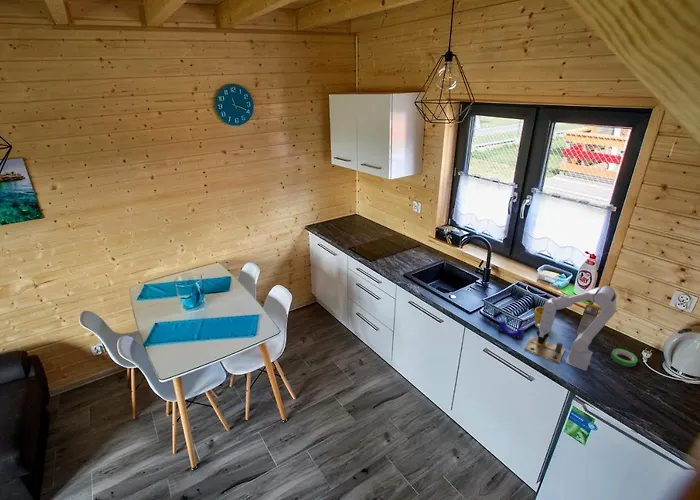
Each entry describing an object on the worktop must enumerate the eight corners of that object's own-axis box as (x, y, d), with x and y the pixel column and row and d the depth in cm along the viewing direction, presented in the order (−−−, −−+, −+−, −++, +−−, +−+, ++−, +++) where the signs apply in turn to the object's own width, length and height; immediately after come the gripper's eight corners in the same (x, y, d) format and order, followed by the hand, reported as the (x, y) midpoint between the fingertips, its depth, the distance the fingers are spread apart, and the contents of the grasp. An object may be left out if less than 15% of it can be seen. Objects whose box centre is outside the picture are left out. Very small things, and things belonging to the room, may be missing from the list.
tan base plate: (564, 350, 209) (567, 340, 207) (558, 363, 200) (561, 354, 197) (531, 337, 219) (533, 328, 216) (524, 349, 209) (526, 340, 207)
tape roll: (633, 355, 206) (635, 351, 205) (638, 369, 197) (640, 365, 196) (609, 350, 210) (610, 346, 209) (612, 363, 201) (614, 359, 200)
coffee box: (579, 327, 227) (586, 304, 220) (592, 332, 223) (599, 308, 217) (575, 335, 221) (583, 311, 214) (588, 340, 217) (596, 315, 210)
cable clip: (522, 335, 221) (524, 326, 218) (519, 339, 218) (521, 330, 215) (501, 326, 228) (503, 318, 225) (498, 330, 225) (500, 321, 222)
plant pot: (552, 324, 230) (556, 310, 226) (549, 333, 222) (553, 319, 218) (533, 318, 235) (536, 304, 231) (529, 327, 227) (533, 312, 223)
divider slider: (545, 344, 211) (548, 335, 209) (541, 352, 205) (544, 343, 203) (537, 341, 214) (540, 332, 211) (533, 349, 208) (535, 339, 205)
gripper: (542, 311, 212) (537, 331, 218) (535, 324, 201) (529, 345, 207) (556, 316, 208) (551, 336, 214) (550, 329, 198) (544, 350, 203)
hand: (541, 341), depth 210 cm, fingers closed on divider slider, 3 cm apart
